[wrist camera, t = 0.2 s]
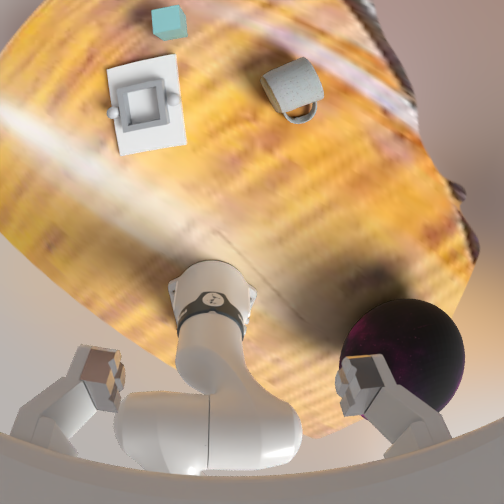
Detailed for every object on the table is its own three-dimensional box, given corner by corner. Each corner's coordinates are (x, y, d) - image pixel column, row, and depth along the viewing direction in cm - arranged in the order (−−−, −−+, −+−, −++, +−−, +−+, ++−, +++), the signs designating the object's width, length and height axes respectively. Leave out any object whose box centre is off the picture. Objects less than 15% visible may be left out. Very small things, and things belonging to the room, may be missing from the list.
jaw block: (187, 36, 42) (180, 28, 35) (164, 41, 42) (153, 33, 35) (185, 16, 40) (178, 4, 33) (162, 20, 40) (151, 10, 33)
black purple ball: (313, 363, 81) (339, 460, 55) (342, 271, 67) (397, 379, 41) (405, 356, 84) (443, 434, 58) (445, 273, 70) (510, 354, 44)
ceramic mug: (255, 77, 46) (259, 76, 40) (298, 58, 45) (310, 54, 38) (283, 130, 52) (292, 138, 45) (324, 111, 50) (339, 116, 44)
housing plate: (188, 143, 51) (185, 147, 48) (121, 154, 51) (114, 159, 48) (177, 54, 43) (173, 51, 40) (108, 70, 43) (100, 69, 40)
